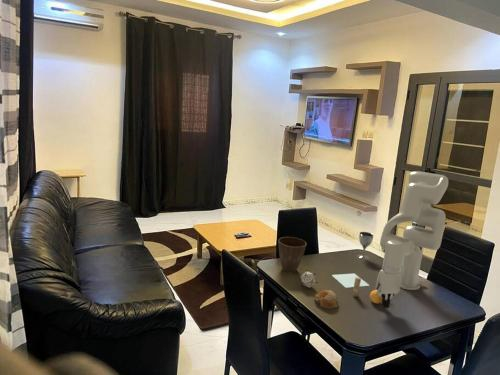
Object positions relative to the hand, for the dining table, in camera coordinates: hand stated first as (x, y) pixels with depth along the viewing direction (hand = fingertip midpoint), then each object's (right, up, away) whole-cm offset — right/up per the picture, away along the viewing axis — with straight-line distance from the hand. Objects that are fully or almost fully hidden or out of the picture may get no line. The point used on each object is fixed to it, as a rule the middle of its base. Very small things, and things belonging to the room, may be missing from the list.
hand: (385, 306), depth 166 cm
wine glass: (+8, +11, +59) cm, 61 cm away
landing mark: (-8, +5, +26) cm, 28 cm away
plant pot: (-39, +9, +34) cm, 53 cm away
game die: (-32, +4, +16) cm, 36 cm away
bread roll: (-26, +1, +1) cm, 26 cm away
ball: (-2, +3, +5) cm, 6 cm away
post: (-10, +2, +10) cm, 15 cm away
